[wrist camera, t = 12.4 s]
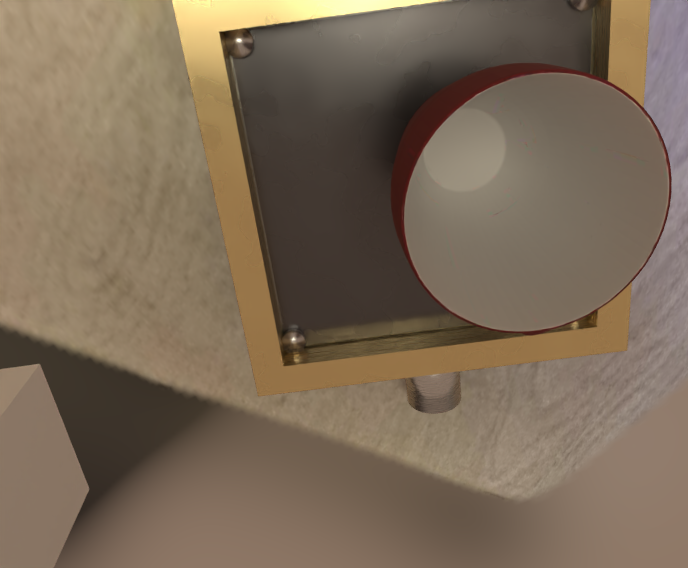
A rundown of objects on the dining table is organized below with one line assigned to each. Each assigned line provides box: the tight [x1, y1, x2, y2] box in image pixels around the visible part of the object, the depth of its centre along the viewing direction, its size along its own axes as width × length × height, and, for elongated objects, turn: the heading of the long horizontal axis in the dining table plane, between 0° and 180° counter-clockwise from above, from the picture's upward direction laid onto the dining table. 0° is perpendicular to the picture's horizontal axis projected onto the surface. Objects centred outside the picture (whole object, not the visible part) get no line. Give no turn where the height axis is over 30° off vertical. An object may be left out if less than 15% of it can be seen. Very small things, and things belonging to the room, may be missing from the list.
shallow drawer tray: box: [172, 0, 651, 413], centre depth 30 cm, size 18×22×6 cm
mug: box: [391, 63, 671, 336], centre depth 23 cm, size 11×8×10 cm
